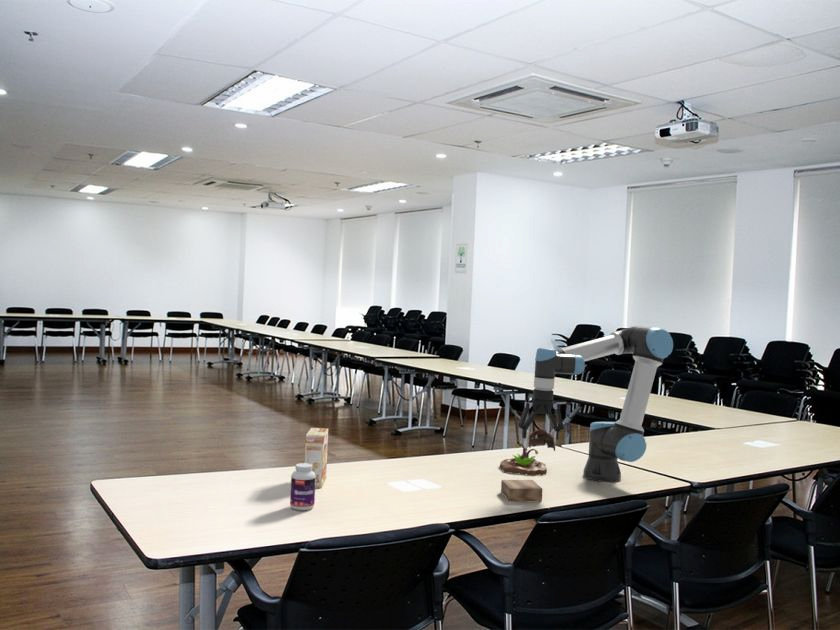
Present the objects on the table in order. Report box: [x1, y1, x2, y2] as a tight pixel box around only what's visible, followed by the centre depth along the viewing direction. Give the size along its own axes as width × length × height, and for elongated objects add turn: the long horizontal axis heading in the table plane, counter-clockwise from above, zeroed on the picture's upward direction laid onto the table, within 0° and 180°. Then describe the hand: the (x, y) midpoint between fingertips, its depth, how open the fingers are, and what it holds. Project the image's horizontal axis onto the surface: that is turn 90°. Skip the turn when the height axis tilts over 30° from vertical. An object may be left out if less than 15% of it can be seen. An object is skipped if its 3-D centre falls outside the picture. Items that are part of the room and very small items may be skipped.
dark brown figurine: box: [528, 428, 556, 452], centre depth 270 cm, size 12×10×8 cm
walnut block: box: [500, 479, 543, 502], centre depth 263 cm, size 12×12×5 cm
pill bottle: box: [289, 462, 316, 512], centre depth 239 cm, size 8×8×14 cm
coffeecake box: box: [304, 427, 329, 489], centre depth 271 cm, size 15×7×20 cm, turn 0°
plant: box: [499, 443, 548, 476], centre depth 306 cm, size 20×20×11 cm
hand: (539, 447), depth 271 cm, fingers closed on dark brown figurine, 10 cm apart
